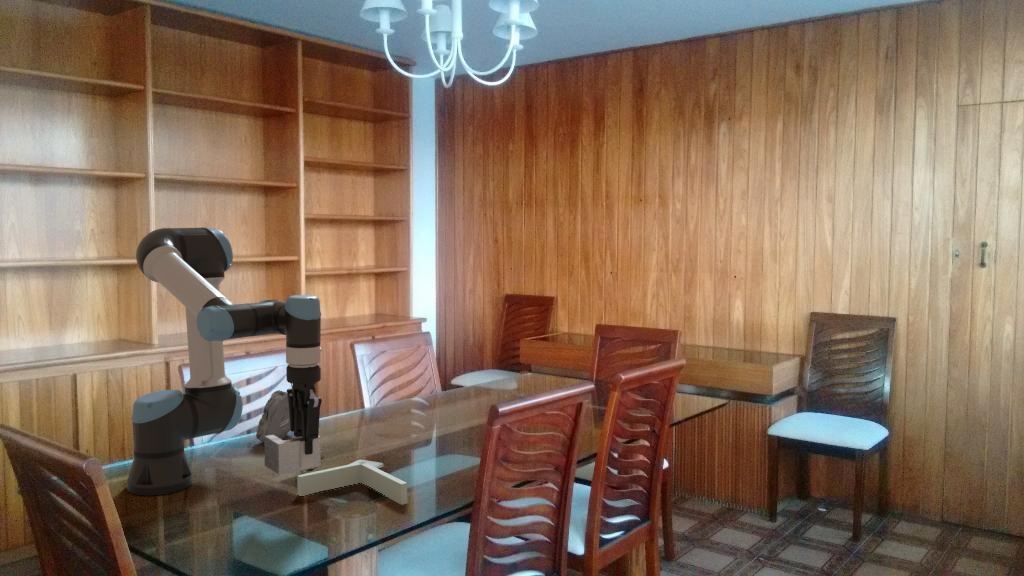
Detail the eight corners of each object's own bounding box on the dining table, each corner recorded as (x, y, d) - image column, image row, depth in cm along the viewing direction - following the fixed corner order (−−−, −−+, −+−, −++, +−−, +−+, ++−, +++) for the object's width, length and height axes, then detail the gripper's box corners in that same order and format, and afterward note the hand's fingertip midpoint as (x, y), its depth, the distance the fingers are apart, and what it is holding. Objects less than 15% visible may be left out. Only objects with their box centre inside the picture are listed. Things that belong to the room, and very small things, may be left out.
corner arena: (338, 521, 179) (337, 499, 179) (297, 495, 195) (297, 475, 195) (407, 503, 190) (407, 482, 190) (363, 480, 207) (363, 461, 206)
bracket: (278, 475, 178) (278, 444, 178) (264, 465, 184) (264, 435, 184) (320, 466, 185) (320, 436, 184) (305, 457, 191) (305, 428, 190)
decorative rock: (285, 432, 253) (284, 385, 251) (302, 434, 250) (302, 386, 249) (250, 445, 238) (249, 395, 236) (268, 448, 235) (267, 397, 234)
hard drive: (356, 476, 207) (383, 462, 218) (330, 471, 211) (358, 458, 222) (356, 482, 207) (383, 468, 219) (330, 477, 211) (358, 464, 222)
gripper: (334, 367, 177) (334, 471, 180) (304, 357, 189) (305, 454, 191) (302, 371, 173) (303, 478, 175) (274, 360, 184) (275, 460, 186)
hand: (304, 465), depth 183 cm, fingers closed on bracket, 2 cm apart
